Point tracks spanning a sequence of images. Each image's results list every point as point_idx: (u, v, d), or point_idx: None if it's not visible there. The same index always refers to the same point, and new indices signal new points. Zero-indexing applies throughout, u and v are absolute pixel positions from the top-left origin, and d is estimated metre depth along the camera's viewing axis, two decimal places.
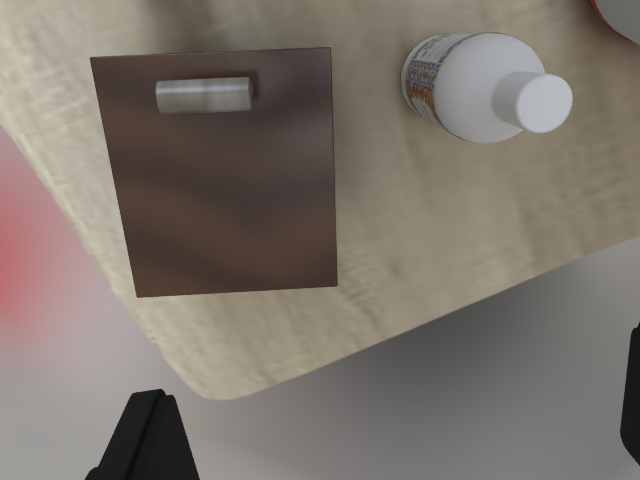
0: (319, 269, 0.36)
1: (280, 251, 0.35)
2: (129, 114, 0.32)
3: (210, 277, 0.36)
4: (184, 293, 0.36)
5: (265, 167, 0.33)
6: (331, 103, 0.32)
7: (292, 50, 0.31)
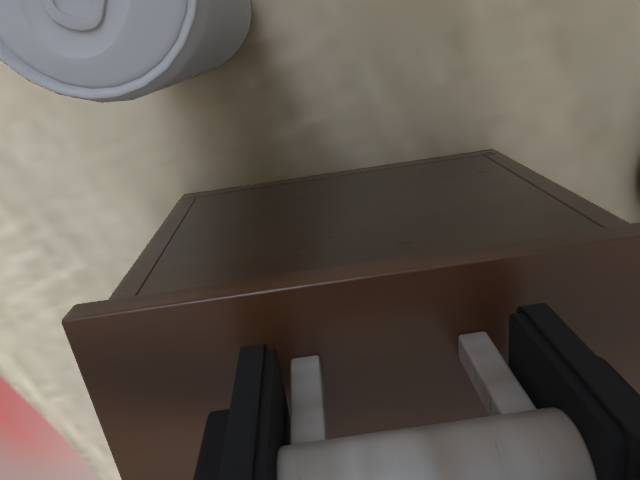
0: None
1: None
2: (175, 429, 0.13)
3: None
4: None
5: None
6: None
7: (598, 246, 0.11)
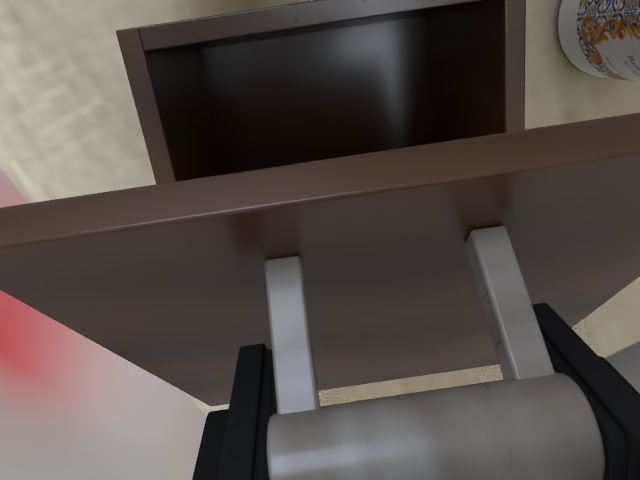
0: None
1: (454, 356, 0.20)
2: (134, 309, 0.11)
3: (328, 383, 0.21)
4: None
5: (470, 310, 0.14)
6: None
7: None
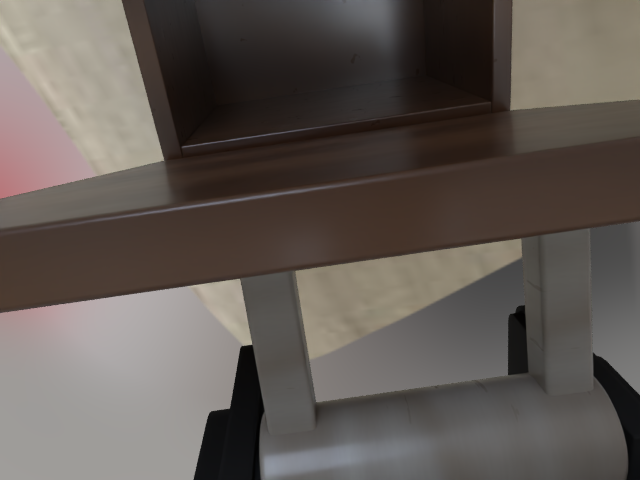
0: None
1: None
2: None
3: None
4: None
5: None
6: None
7: None
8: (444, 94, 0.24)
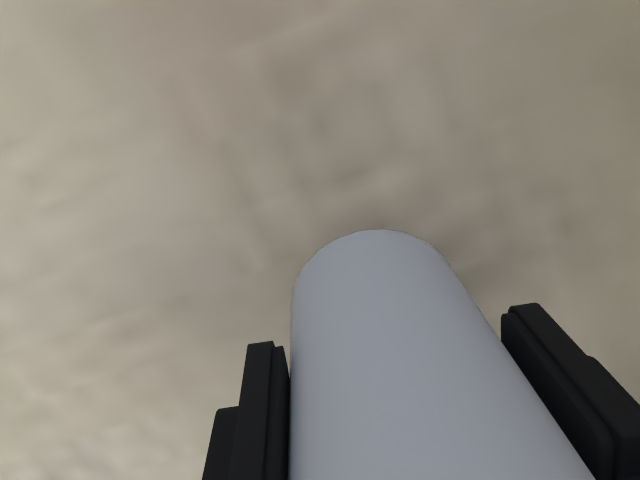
0: None
1: None
2: None
3: None
4: None
5: None
6: None
7: None
8: None
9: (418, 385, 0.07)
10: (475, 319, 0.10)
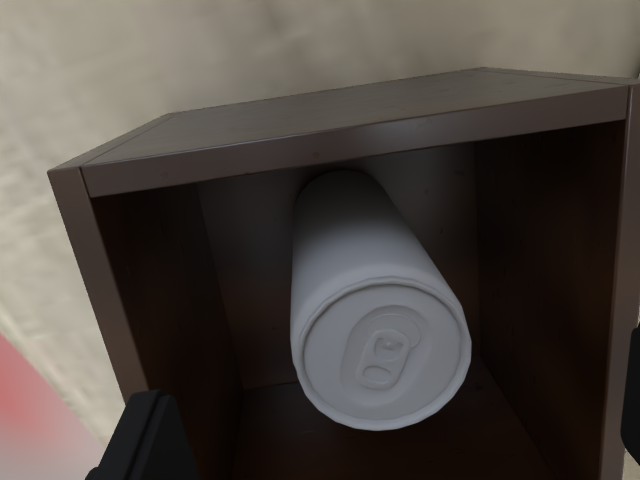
0: None
1: None
2: None
3: None
4: None
5: None
6: None
7: None
8: (522, 469, 0.20)
9: (350, 213, 0.17)
10: (387, 202, 0.19)
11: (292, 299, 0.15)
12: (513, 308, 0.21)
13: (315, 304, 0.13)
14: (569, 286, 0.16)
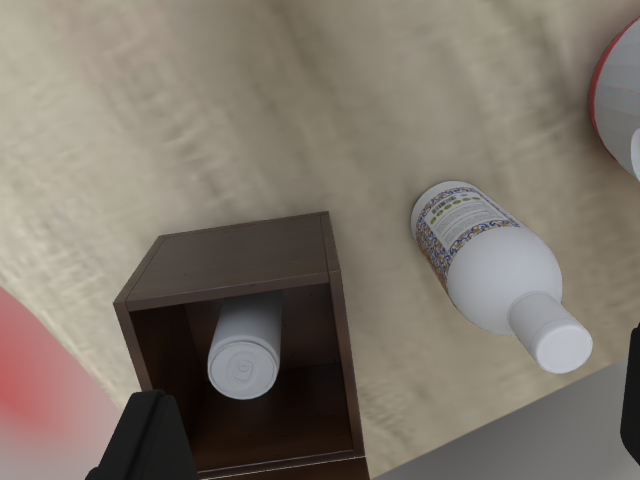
0: None
1: None
2: None
3: None
4: None
5: None
6: None
7: None
8: (336, 421, 0.40)
9: (241, 303, 0.37)
10: None
11: None
12: None
13: (215, 350, 0.33)
14: None
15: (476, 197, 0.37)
